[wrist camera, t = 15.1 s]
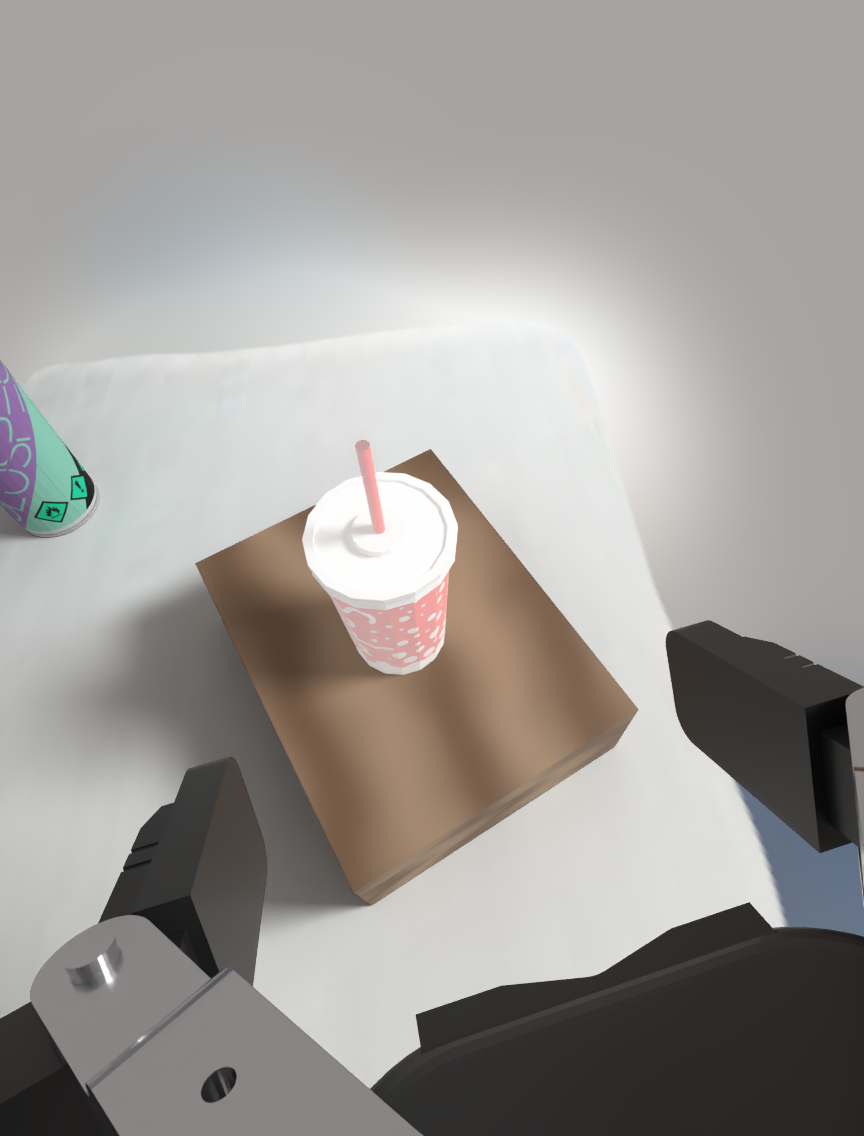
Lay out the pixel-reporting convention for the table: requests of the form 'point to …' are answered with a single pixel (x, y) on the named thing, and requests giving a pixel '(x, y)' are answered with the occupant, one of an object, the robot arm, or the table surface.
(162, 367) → the table surface
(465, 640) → the walnut shelf stand
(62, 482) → the spray can
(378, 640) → the beverage cup
